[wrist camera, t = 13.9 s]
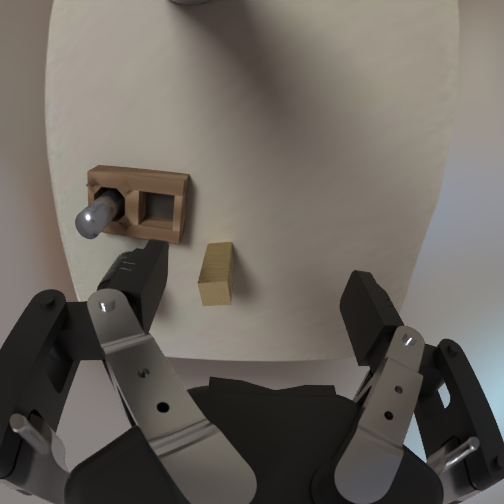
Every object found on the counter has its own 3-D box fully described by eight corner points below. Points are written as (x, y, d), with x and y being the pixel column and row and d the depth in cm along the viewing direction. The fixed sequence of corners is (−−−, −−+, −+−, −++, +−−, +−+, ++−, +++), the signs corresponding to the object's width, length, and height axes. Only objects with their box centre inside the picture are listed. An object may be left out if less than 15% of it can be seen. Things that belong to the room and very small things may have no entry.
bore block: (97, 165, 37) (85, 171, 34) (189, 174, 38) (183, 181, 35) (98, 220, 41) (88, 230, 38) (183, 232, 42) (178, 244, 39)
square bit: (207, 243, 43) (197, 283, 35) (231, 241, 43) (227, 281, 35) (211, 264, 45) (203, 305, 37) (234, 262, 45) (230, 304, 36)
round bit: (108, 183, 38) (74, 210, 29) (129, 186, 38) (99, 213, 30) (108, 206, 40) (76, 236, 31) (129, 209, 40) (100, 240, 31)
